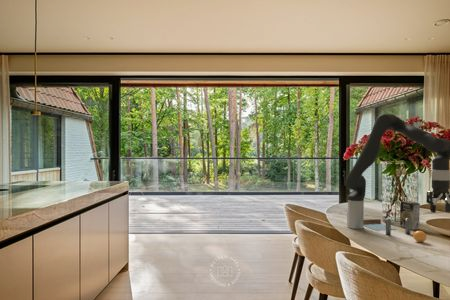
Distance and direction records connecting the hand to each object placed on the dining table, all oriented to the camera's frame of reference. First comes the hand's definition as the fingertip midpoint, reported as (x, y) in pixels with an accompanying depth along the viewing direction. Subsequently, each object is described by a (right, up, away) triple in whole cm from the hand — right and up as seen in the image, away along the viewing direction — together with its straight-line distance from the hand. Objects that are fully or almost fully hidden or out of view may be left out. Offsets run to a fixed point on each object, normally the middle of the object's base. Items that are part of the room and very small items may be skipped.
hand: (440, 212), depth 160 cm
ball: (-2, -15, +13) cm, 20 cm away
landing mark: (-9, -18, +45) cm, 50 cm away
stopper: (-11, -18, +56) cm, 60 cm away
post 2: (+1, -18, +30) cm, 35 cm away
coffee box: (+10, -19, +45) cm, 50 cm away
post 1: (-12, -18, +27) cm, 35 cm away
